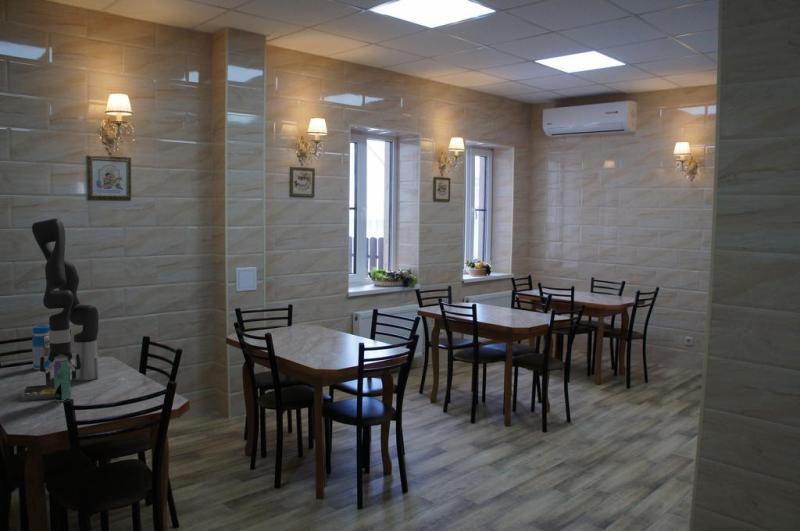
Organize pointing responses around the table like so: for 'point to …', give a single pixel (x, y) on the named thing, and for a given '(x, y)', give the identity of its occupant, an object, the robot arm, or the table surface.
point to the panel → (38, 393)
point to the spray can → (62, 378)
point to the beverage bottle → (40, 345)
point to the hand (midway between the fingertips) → (61, 380)
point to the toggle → (51, 383)
